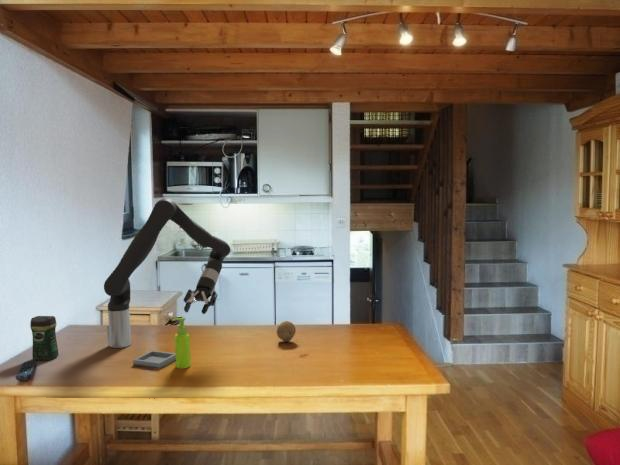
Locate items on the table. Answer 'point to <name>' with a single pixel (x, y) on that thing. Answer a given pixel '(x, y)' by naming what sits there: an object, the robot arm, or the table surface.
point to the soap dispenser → (182, 345)
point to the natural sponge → (286, 331)
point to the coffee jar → (44, 338)
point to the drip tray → (155, 359)
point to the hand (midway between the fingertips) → (194, 312)
